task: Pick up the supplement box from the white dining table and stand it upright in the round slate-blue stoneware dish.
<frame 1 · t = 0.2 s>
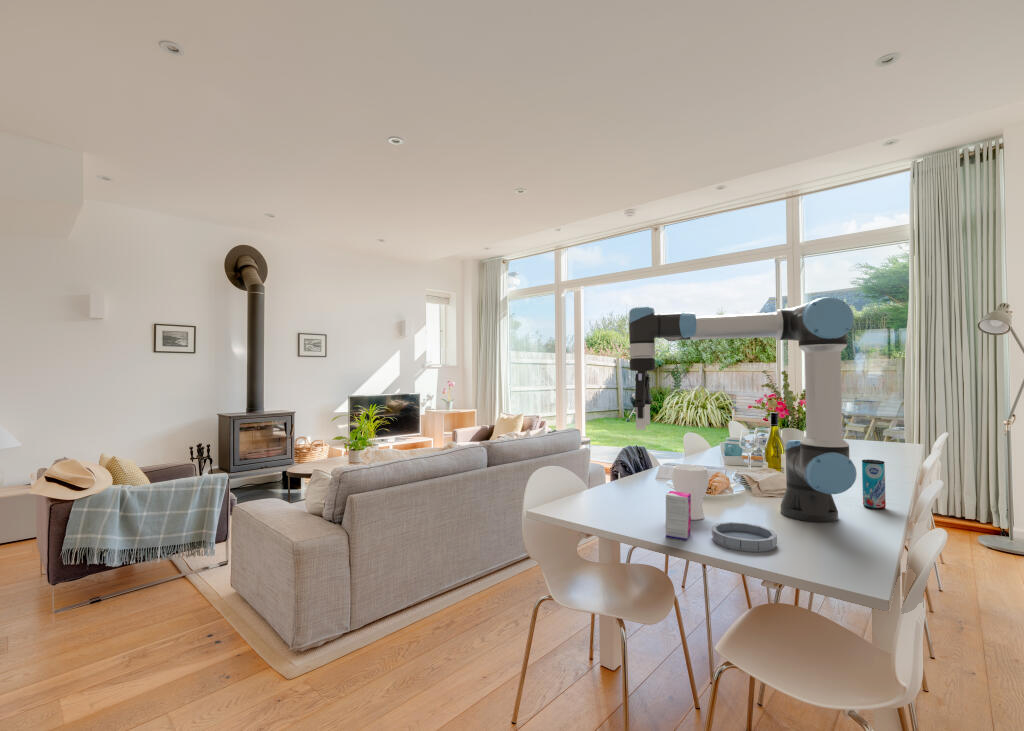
hand: (643, 427, 149), 28 cm above the table, fingers open, 13 cm apart
beverage can: (874, 508, 158), on the table
supplement box: (678, 536, 132), on the table
dish: (743, 541, 127), on the table
cup: (690, 517, 150), on the table
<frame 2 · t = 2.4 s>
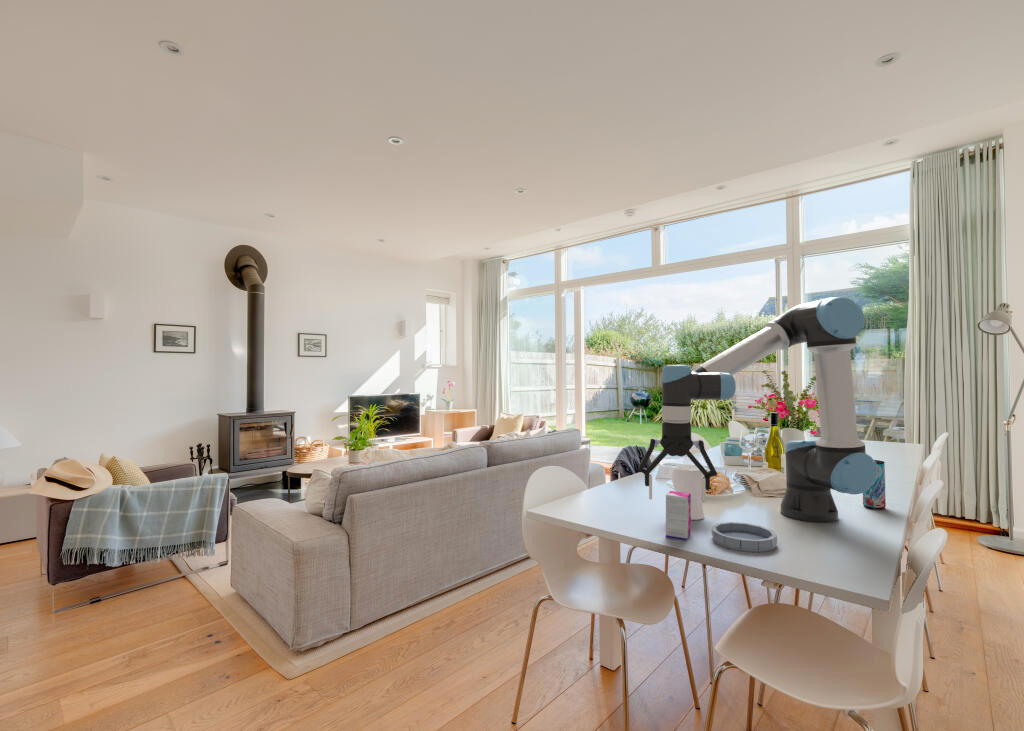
hand: (676, 500, 132), 10 cm above the table, fingers open, 13 cm apart
nothing on the table moved.
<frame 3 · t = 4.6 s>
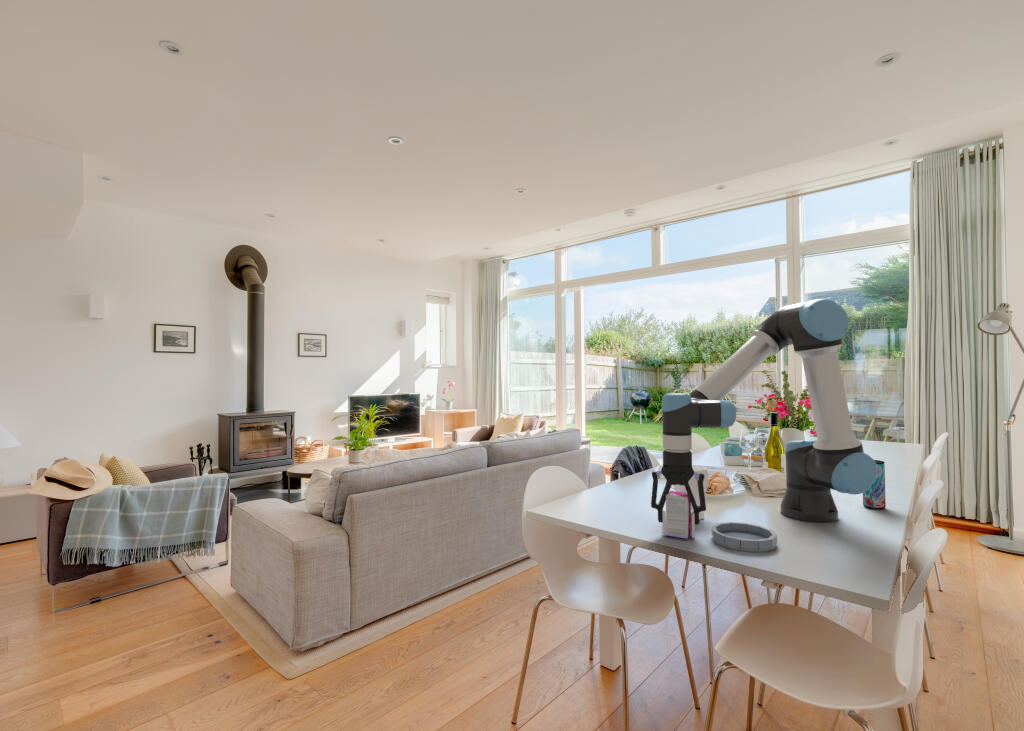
hand: (678, 535, 132), 0 cm above the table, fingers closed on supplement box, 7 cm apart
supplement box: (678, 536, 132), on the table, touching gripper
everything else where it was.
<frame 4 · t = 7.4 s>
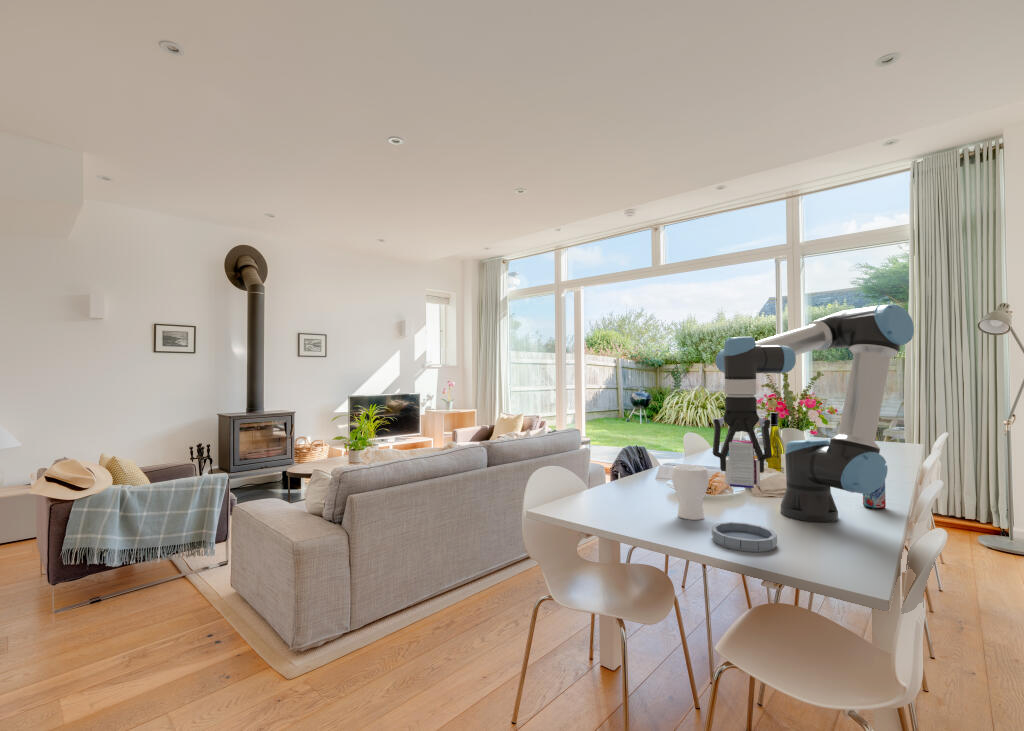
hand: (742, 484, 127), 15 cm above the table, fingers closed on supplement box, 6 cm apart
supplement box: (742, 486, 127), point 14 cm above the table, touching gripper
everything else where it was.
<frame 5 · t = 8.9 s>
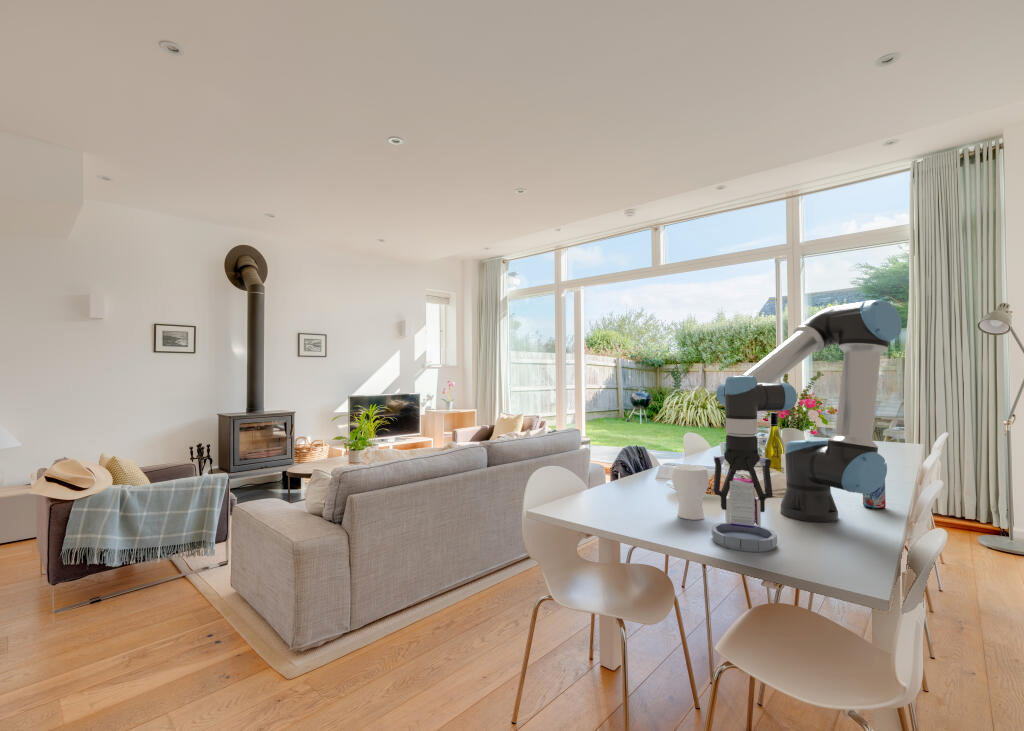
hand: (742, 523, 127), 5 cm above the table, fingers closed on supplement box, 6 cm apart
supplement box: (743, 524, 127), point 4 cm above the table, touching gripper
everything else where it was.
when the fingers open (3 cm above the table, at t = 10.2 s): supplement box drops 2 cm, resting on dish.
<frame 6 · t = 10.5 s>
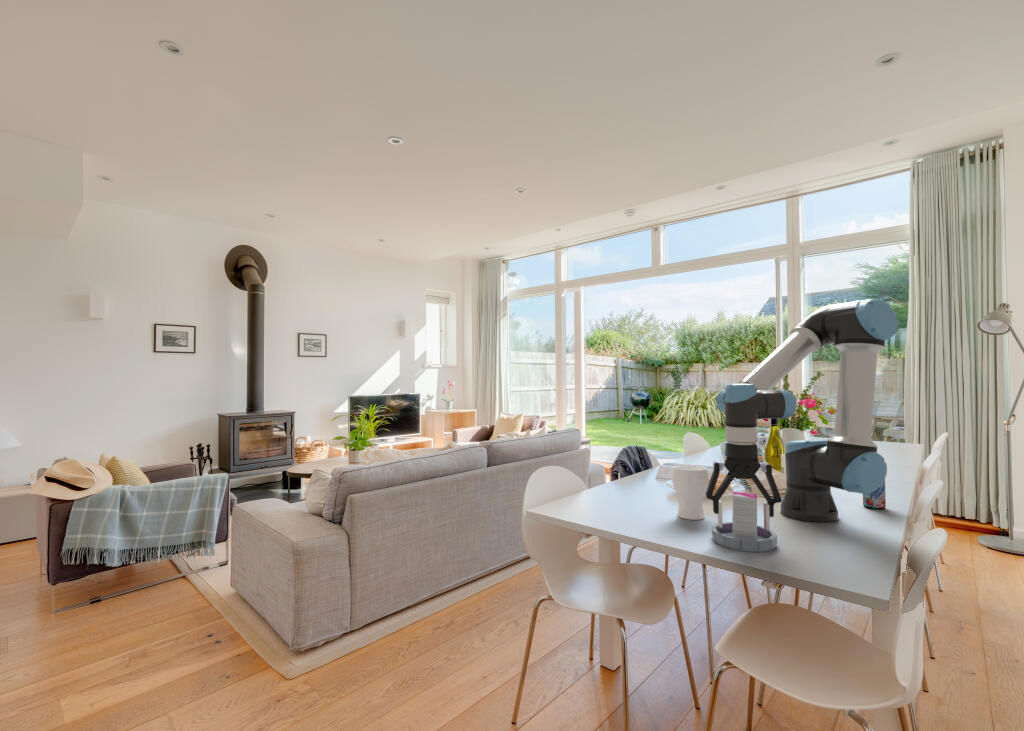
hand: (743, 527, 127), 4 cm above the table, fingers open, 10 cm apart
supplement box: (744, 539, 127), point 1 cm above the table, touching dish
everything else where it was.
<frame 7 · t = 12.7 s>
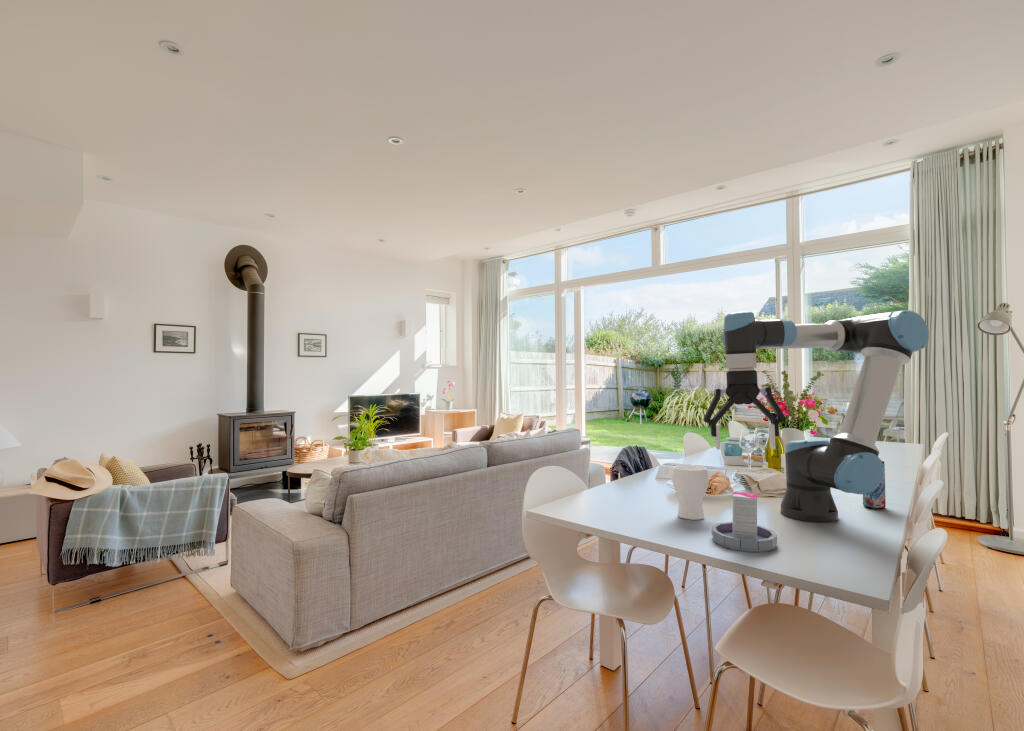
hand: (745, 448, 131), 24 cm above the table, fingers open, 13 cm apart
nothing on the table moved.
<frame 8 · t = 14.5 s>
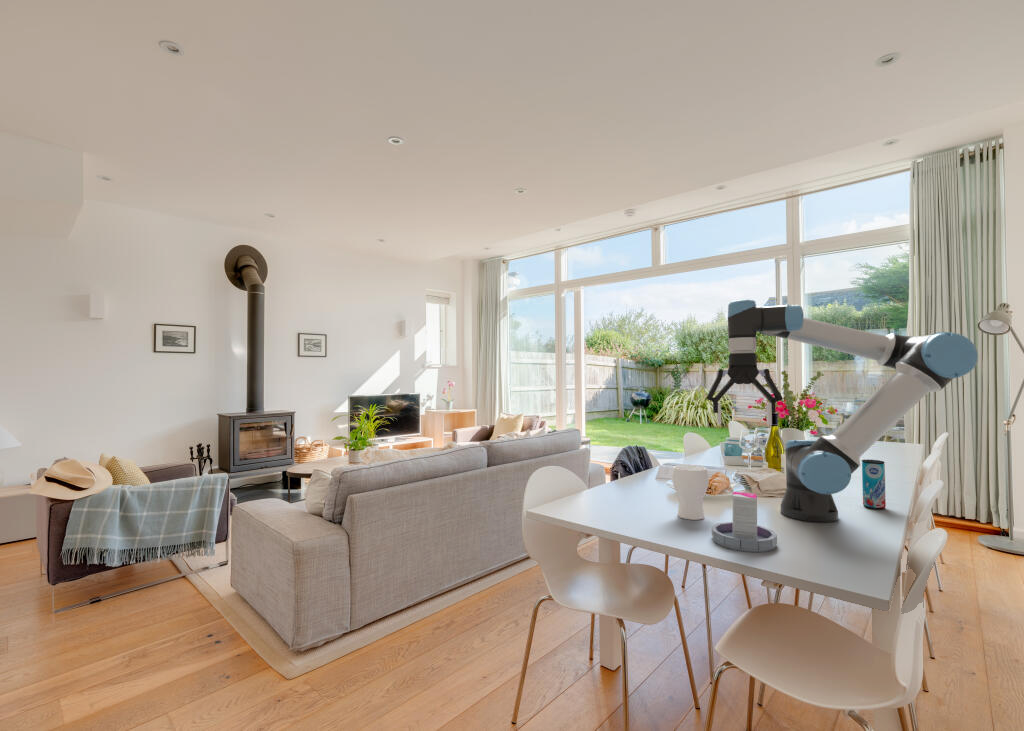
hand: (743, 424, 144), 29 cm above the table, fingers open, 13 cm apart
nothing on the table moved.
at the end: supplement box inside the target area on the dish (0.4 cm from its centre), point 0.6 cm above the dish's base; supplement box tilted 0°; the gripper is holding nothing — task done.
